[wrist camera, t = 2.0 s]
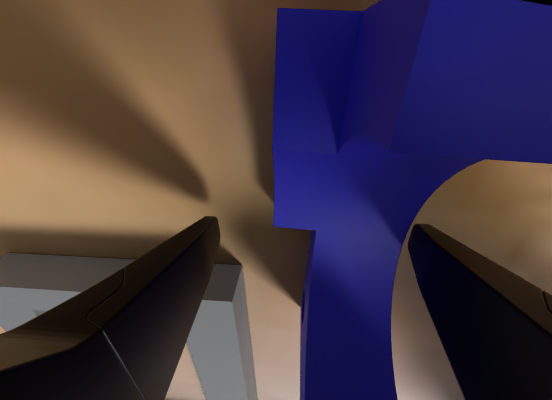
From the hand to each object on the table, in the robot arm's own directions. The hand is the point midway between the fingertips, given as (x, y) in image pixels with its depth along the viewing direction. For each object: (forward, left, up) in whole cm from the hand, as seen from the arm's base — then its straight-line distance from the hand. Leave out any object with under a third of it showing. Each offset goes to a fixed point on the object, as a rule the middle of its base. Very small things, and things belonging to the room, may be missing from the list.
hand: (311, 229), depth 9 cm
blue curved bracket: (-1, 0, -1) cm, 2 cm away
